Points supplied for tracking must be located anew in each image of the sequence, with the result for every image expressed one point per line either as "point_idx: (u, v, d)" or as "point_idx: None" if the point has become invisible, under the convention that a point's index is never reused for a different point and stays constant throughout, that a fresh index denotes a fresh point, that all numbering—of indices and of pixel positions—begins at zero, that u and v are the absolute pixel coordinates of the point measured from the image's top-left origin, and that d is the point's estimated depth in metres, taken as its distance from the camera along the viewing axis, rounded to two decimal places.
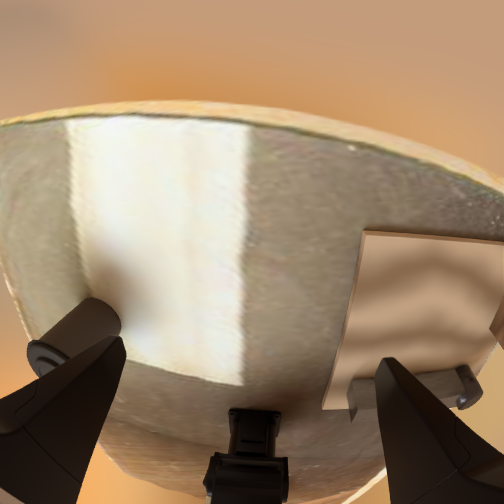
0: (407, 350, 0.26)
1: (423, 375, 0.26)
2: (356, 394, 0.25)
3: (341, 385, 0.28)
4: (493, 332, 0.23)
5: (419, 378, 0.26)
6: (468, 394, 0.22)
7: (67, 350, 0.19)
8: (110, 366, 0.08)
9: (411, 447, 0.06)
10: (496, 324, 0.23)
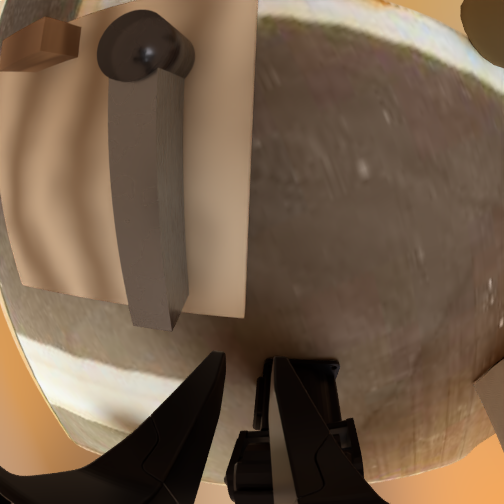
0: (104, 211, 0.18)
1: None
2: None
3: None
4: (66, 56, 0.12)
5: None
6: (105, 72, 0.10)
7: None
8: (220, 386, 0.08)
9: (279, 458, 0.06)
10: (57, 60, 0.13)
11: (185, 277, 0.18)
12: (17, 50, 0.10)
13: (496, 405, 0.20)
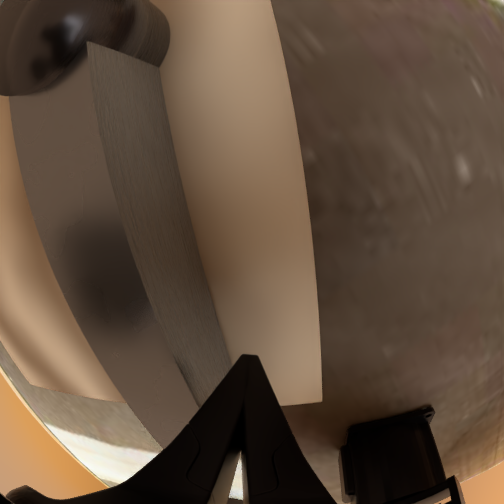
0: None
1: None
2: None
3: None
4: None
5: None
6: None
7: None
8: None
9: (243, 456, 0.06)
10: None
11: None
12: None
13: None
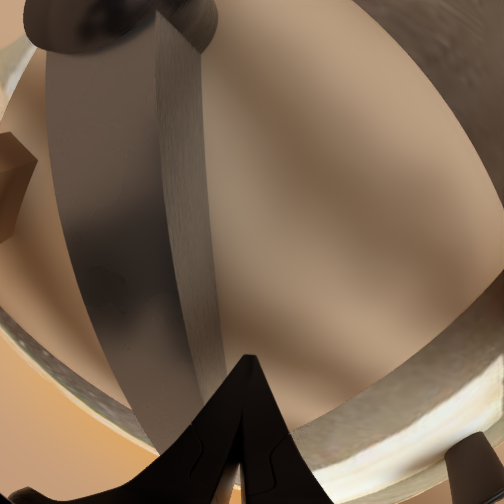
0: (280, 300, 0.11)
1: None
2: None
3: (449, 303, 0.11)
4: (20, 170, 0.08)
5: None
6: (37, 42, 0.03)
7: None
8: None
9: (240, 456, 0.06)
10: (15, 189, 0.09)
11: None
12: None
13: None
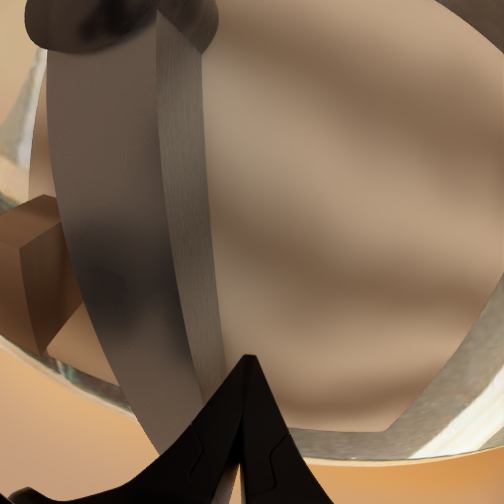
0: (390, 237, 0.10)
1: None
2: None
3: None
4: None
5: None
6: (38, 41, 0.03)
7: None
8: None
9: None
10: None
11: None
12: (12, 305, 0.07)
13: None
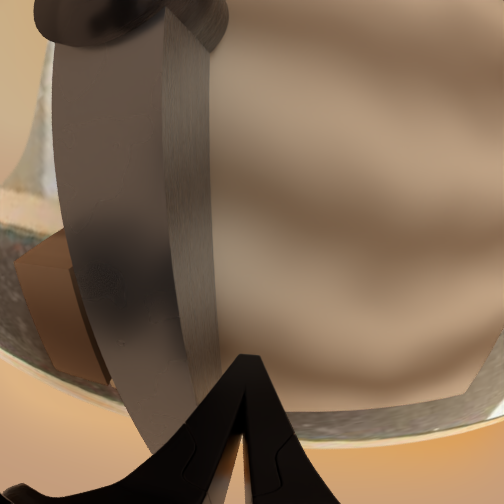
0: (442, 186, 0.09)
1: None
2: None
3: None
4: None
5: None
6: (46, 33, 0.03)
7: None
8: None
9: (245, 456, 0.06)
10: None
11: None
12: (68, 336, 0.07)
13: None
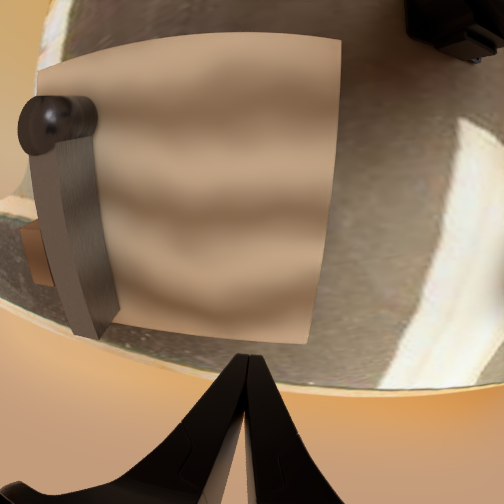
0: (210, 184, 0.18)
1: None
2: None
3: (317, 109, 0.15)
4: None
5: None
6: (24, 148, 0.12)
7: None
8: (245, 389, 0.08)
9: (248, 456, 0.06)
10: None
11: (113, 296, 0.21)
12: (39, 261, 0.17)
13: None
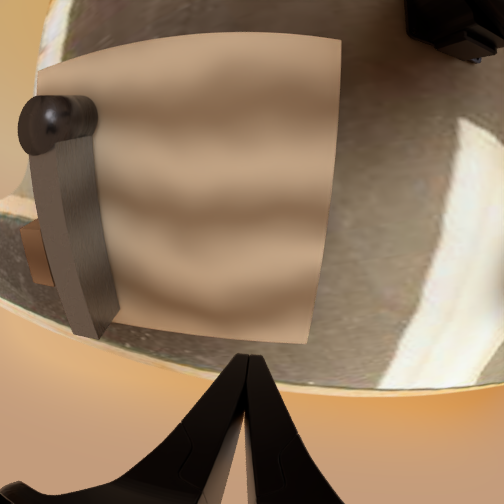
0: (210, 183, 0.18)
1: None
2: None
3: (317, 109, 0.15)
4: None
5: None
6: (24, 148, 0.12)
7: None
8: (245, 389, 0.08)
9: (248, 456, 0.06)
10: None
11: (113, 295, 0.21)
12: (39, 260, 0.17)
13: None
